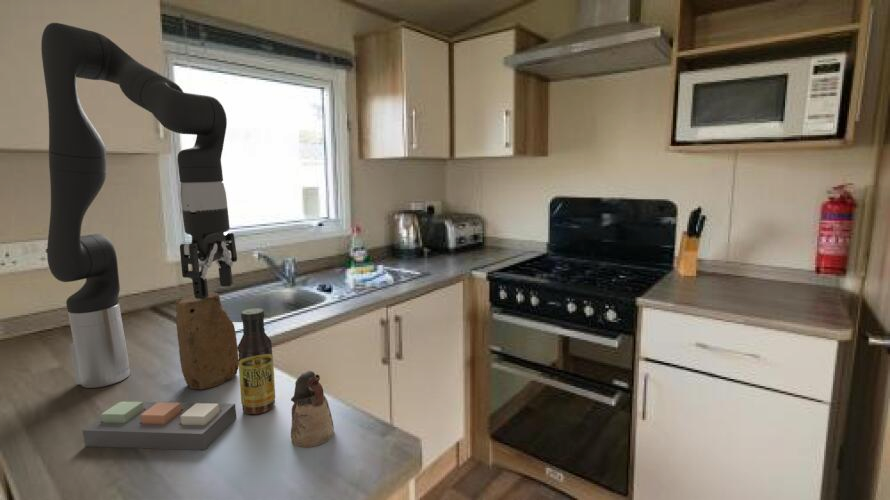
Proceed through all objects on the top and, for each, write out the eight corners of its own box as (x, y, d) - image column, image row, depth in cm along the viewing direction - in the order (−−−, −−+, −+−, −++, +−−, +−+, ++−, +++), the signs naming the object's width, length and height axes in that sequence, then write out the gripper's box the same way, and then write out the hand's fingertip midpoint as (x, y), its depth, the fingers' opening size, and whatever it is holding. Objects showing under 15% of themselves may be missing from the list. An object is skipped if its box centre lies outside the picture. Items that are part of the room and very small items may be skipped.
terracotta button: (142, 425, 82) (140, 414, 82) (159, 412, 86) (158, 402, 86) (165, 426, 82) (163, 415, 81) (181, 412, 86) (180, 402, 86)
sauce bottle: (243, 419, 88) (231, 318, 84) (241, 405, 93) (229, 309, 90) (280, 410, 91) (270, 312, 87) (275, 397, 96) (265, 304, 93)
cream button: (181, 426, 81) (180, 415, 81) (197, 413, 86) (196, 403, 85) (205, 427, 81) (204, 416, 81) (220, 413, 85) (218, 403, 85)
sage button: (103, 424, 83) (101, 414, 83) (122, 411, 87) (120, 401, 87) (125, 424, 82) (124, 414, 82) (144, 411, 87) (142, 402, 86)
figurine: (318, 420, 87) (312, 360, 84) (342, 433, 82) (337, 369, 80) (283, 438, 81) (277, 374, 79) (307, 453, 77) (301, 385, 75)
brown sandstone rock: (192, 395, 98) (179, 303, 94) (181, 384, 103) (169, 297, 100) (244, 377, 105) (234, 292, 102) (231, 368, 111) (221, 287, 107)
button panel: (85, 446, 81) (82, 430, 80) (129, 415, 91) (126, 401, 90) (204, 450, 78) (202, 433, 78) (236, 418, 88) (234, 403, 88)
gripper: (207, 203, 93) (216, 282, 96) (159, 211, 79) (171, 302, 82) (243, 203, 93) (251, 282, 95) (202, 210, 79) (212, 303, 82)
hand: (214, 291), depth 89 cm, fingers open, 8 cm apart
